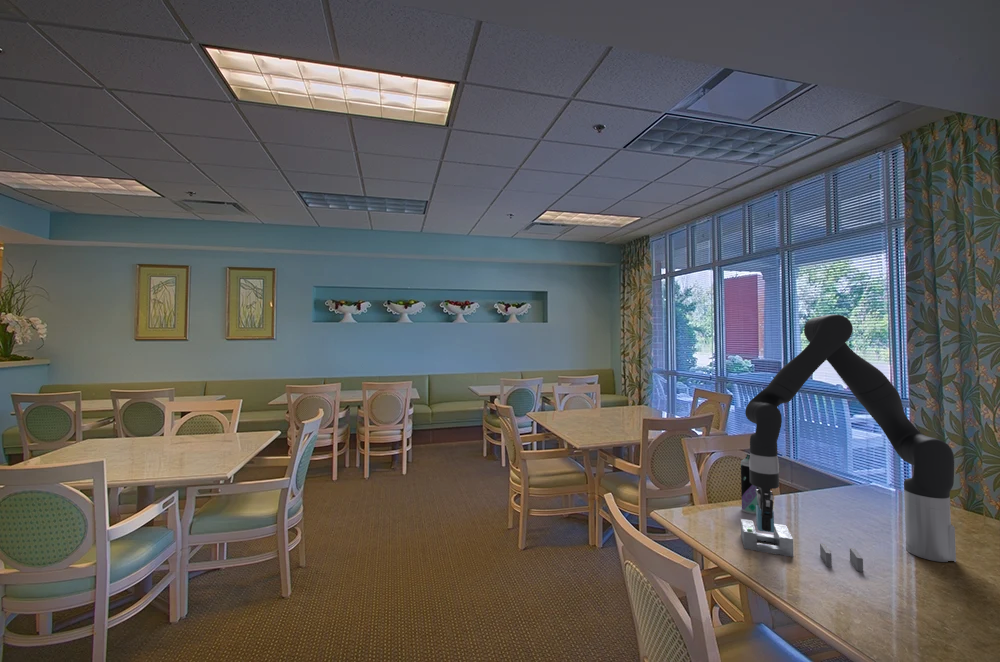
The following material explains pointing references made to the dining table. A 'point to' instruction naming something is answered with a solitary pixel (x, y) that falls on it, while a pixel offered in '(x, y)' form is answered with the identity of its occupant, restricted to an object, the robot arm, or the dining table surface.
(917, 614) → the dining table surface
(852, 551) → the gray parallel plates
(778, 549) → the block
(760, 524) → the plug
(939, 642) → the dining table surface
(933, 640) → the dining table surface
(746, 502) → the spray can
